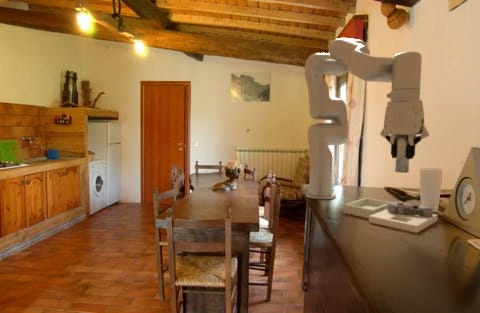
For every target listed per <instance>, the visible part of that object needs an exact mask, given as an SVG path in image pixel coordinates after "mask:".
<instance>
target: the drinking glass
mask: <svg viewBox="0 0 480 313" xmlns="http://www.w3.org/2000/svg"><path fill="white" fill-rule="evenodd" d="M442 184H443V169H441V168H437V167H436V168H435V167H420V168H419V193H420V197H419V198H420V206H427V207H431V208H433V213H437V212H438V211H439V204H440V197H441V196H440V195H441V190H442ZM436 211H437V212H436Z"/></svg>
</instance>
